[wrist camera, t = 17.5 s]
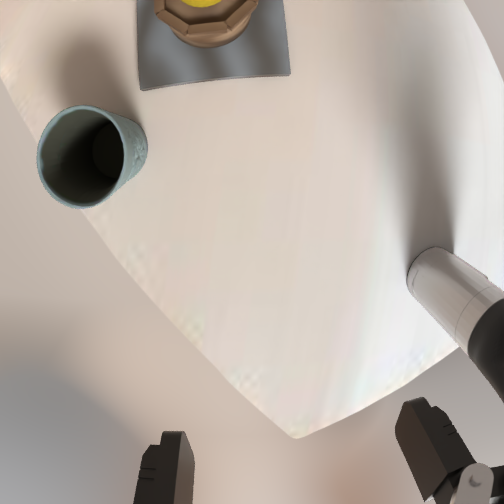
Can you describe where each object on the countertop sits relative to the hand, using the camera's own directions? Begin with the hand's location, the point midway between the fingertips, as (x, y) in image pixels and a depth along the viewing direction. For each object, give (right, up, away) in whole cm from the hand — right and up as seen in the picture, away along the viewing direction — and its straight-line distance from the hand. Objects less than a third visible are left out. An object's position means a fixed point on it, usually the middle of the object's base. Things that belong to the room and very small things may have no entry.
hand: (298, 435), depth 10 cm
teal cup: (-19, +20, +27) cm, 38 cm away
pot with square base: (-7, +36, +22) cm, 42 cm away
